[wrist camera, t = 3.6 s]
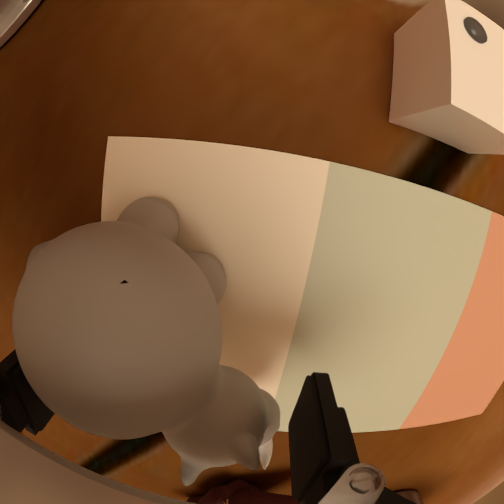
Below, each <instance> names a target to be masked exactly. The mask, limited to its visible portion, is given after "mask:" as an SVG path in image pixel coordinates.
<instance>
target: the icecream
mask: <svg viewBox="0 0 504 504" xmlns="http://www.w3.org/2000/svg"><path fill="white" fill-rule="evenodd" d="M186 502H191V503H196V504H297V499H293V498H292V496H289V495H281V494H274V493H268V492H262V491H260V490H259V488H258V487H257V486H254V485H252V484H249V483H247V482H246V481H244V480H242V479H235V480H234V481H232V482H230V483H228V484H226V485H222V486H216V487H212V488H210V490H209V492H208V493H206V494H205V495H204V496H202V495H201V496H194V497H191V498H189V499H188V500H187V501H186Z"/></svg>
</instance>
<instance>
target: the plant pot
mask: <svg viewBox="0 0 504 504" xmlns="http://www.w3.org/2000/svg"><path fill="white" fill-rule="evenodd" d="M395 493H397V494H399V495H401V496H403V497H404V498H406V499H408V500H410V501H412V502H414V503H416V504H423V501H422V499H421V497H420V494H419V493H418V492H417V491H413V490H407V491H400V492H395Z"/></svg>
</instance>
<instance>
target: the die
mask: <svg viewBox="0 0 504 504" xmlns="http://www.w3.org/2000/svg"><path fill="white" fill-rule="evenodd" d="M389 122H390V123H393V124H396V125H399V126H402V127H405V128H408V129H411V130H413V131H416V132H419V133H421V134H424V135H426V136H429V137H432V138H434V139H436V140H439V141H441V142H444V143H446V144H448V145H451V146H453V147H455V148H457V149H460V150H462V151H464V152H466V153H471V154H502V155H504V30H503V29H502V28H501V27H499V26H498V25H497V24H495V23H494V22H493V21H491V20H490V19H489V18H487V17H486V16H484V15H483V14H481V13H480V12H479V11H477V10H476V9H474V8H473V7H471V6H469V5H468V4H466V3H465V2H463V1H461V0H431V1H430V2H428V3H427V4H426V5H425V6H424V7H423V8H422V9H420V10H419V11H418V12H417V13H416V14H415V15H414V16H413V17H411V18H410V19H409V20H408V21H407V22H406V23H405V24H404V25H403V26H402V27H401V28H399V29H398V30H397V31H396V32H395V33H394V57H393V77H392V92H391V103H390V113H389Z"/></svg>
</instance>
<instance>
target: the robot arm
mask: <svg viewBox="0 0 504 504" xmlns="http://www.w3.org/2000/svg"><path fill="white" fill-rule="evenodd" d="M41 1H42V0H0V47H1V46H2V45H3V44H4V43H5V42H6V41H7V40H8V39H9V38H10V37H11V36H12V35H13V34H14V33H15V32H16V31H17V30H18V28H19V27H20V26H21V25H22V24H23V23H24V22H25V21H26V19H27V18H28V17H29V16H30V14H31V13H32V12H33V11H34V10H35V8H36V7H37V6H38V5H39V3H40V2H41ZM53 415H54V412H52V411H51V410H50V409H49V408H48V407H47V406H46V405H45V404H44V403H43V402H42V400H41V399H40V398H39V397H38V396H37V394H36V393H35V392H34V390H33V389H32V387H31V386H30V384H29V382H28V381H27V379H26V377H25V375H24V373H23V370H22V368H21V366H20V363H19V360H18V357H17V354H16V350H14V351H13V352H11V353H10V354H9V355H8V356H7V357H6V358H5V359H4V360H3V361H2V362H0V504H196V503H191V502H186V501H182V500H177V499H173V498H169V497H165V496H162V495H158V494H154V493H151V492H148V491H144V490H141V489H138V488H135V487H132V486H129V485H126V484H123V483H120V482H118V481H115V480H112V479H110V478H107V477H104V476H102V475H100V474H97V473H95V472H92V471H90V470H88V469H86V468H83V467H81V466H79V465H77V464H75V463H73V462H71V461H69V460H67V459H65V458H63V457H61V456H59V455H57V454H55V453H53V452H51V451H49V450H48V449H46V448H44V447H42V446H41V445H39V444H37V443H35V442H34V441H32V440H30V439H29V438H27V437H26V436H24V435H23V431H22V430H23V429H24V428H25V429H26V430H27V431H29V432H30V433H32V434H34V435H35V436H36V434H37V433H38V431H41V430H43V429H44V427H45V426H46V424H47V423H48V422H49V420H50V419H51V418H52V416H53ZM288 433H289V449H290V466H291V486H292V498H293V499H297V504H416V503H414V502H412V501H410V500H408V499H406V498H404V497H403V496H401V495H399V494H397V493H395V492H393V491H391V490H390V489H388V488H386V487H385V477H384V475H383V473H382V472H381V471H380V470H379V469H378V468H377V467H375V466H373V465H370V464H364V463H361V464H360V462H359V458H358V455H357V451H356V447H355V443H354V439H353V436H352V432H351V428H350V425H349V421H348V418H347V414H346V411H345V409H344V408H343V407H337V403H336V399H335V395H334V392H333V388H332V384H331V380H330V377H329V374H328V373H319V372H313V373H312V374H311V376H310V375H307V376H306V378H305V381H304V384H303V387H302V389H301V392H300V395H299V397H298V400H297V403H296V405H295V408H294V410H293V413H292V416H291V418H290V421H289V425H288Z"/></svg>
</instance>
